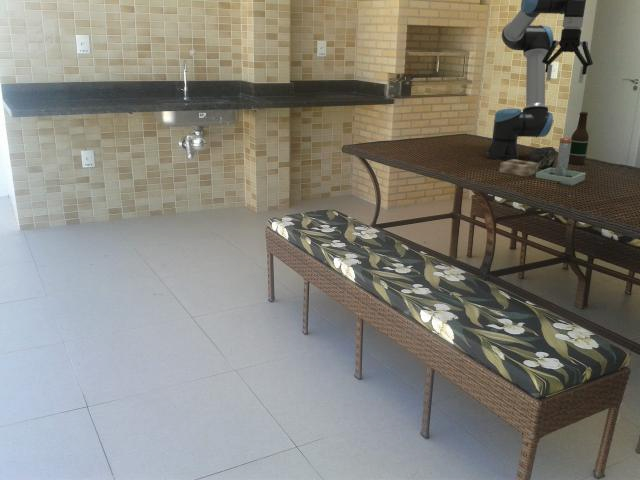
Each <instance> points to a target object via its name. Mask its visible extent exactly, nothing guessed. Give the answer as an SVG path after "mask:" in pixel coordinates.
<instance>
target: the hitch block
mask: <svg viewBox="0 0 640 480" xmlns="http://www.w3.org/2000/svg"><path fill="white" fill-rule="evenodd" d="M538 166H539V163H535V162H530V161H526V160H521V159H517V160H515V159H511V160H504V161H502V162H500V163H499V173H502V174H507V175H508V174H509V175H515V176H521V177H528V176H532V175H534V174H535V175H536V173H537V172H539V167H538Z"/></svg>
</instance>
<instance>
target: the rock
mask: <svg viewBox="0 0 640 480" xmlns="http://www.w3.org/2000/svg"><path fill="white" fill-rule="evenodd" d="M556 156H557V150H556V149H555V148H554V147H553V146H544V147H540V148H534V149H532V150H531V151H530V152H529V153H528V158H529V160H530V161H529V162H535V163H539V166H538V169H543V170H545V169H548V168H554V166H555V160H556Z"/></svg>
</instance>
